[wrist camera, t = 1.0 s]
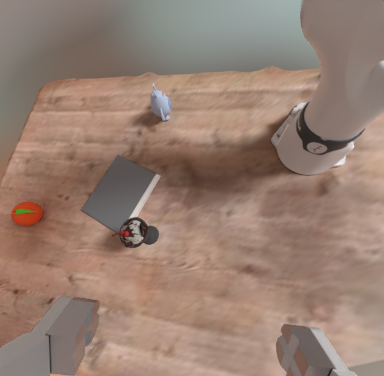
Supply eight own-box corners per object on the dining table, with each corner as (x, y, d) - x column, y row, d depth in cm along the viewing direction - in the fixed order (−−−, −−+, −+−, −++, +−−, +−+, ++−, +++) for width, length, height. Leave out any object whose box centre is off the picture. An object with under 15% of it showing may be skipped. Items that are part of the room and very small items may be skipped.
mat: (118, 155, 61) (117, 154, 60) (161, 176, 56) (160, 175, 56) (81, 210, 57) (80, 209, 56) (124, 237, 52) (123, 237, 52)
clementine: (53, 203, 59) (31, 197, 53) (49, 225, 57) (26, 222, 50) (31, 205, 60) (7, 200, 54) (26, 227, 58) (0, 225, 52)
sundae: (133, 240, 52) (100, 237, 37) (146, 218, 53) (118, 208, 39) (153, 252, 50) (125, 254, 36) (166, 229, 51) (144, 223, 37)
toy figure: (177, 127, 60) (166, 99, 49) (158, 131, 61) (144, 105, 50) (172, 101, 64) (162, 69, 53) (155, 105, 65) (140, 75, 53)
